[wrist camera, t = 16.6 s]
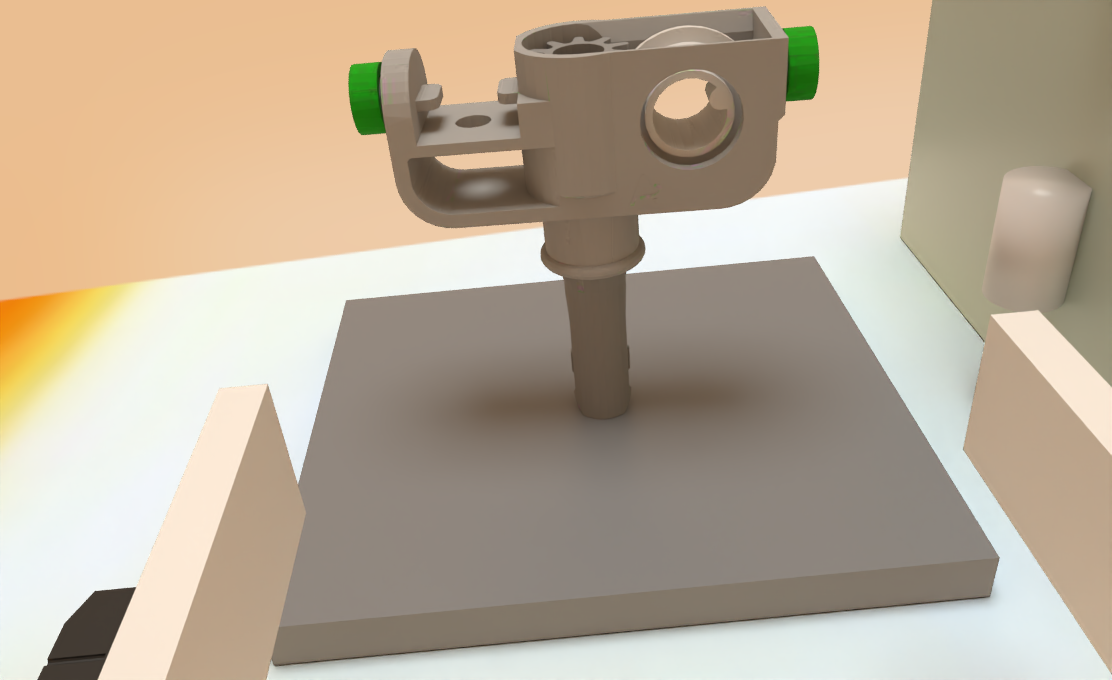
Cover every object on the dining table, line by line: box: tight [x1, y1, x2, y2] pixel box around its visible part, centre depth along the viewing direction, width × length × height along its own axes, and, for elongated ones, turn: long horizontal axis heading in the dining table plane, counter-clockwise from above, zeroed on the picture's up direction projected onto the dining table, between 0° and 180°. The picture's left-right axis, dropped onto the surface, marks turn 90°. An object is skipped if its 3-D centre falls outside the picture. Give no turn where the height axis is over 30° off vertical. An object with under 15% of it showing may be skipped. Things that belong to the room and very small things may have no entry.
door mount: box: [271, 0, 1112, 665], centre depth 21 cm, size 22×20×22 cm
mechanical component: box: [348, 7, 819, 419], centre depth 23 cm, size 3×10×10 cm, turn 89°
